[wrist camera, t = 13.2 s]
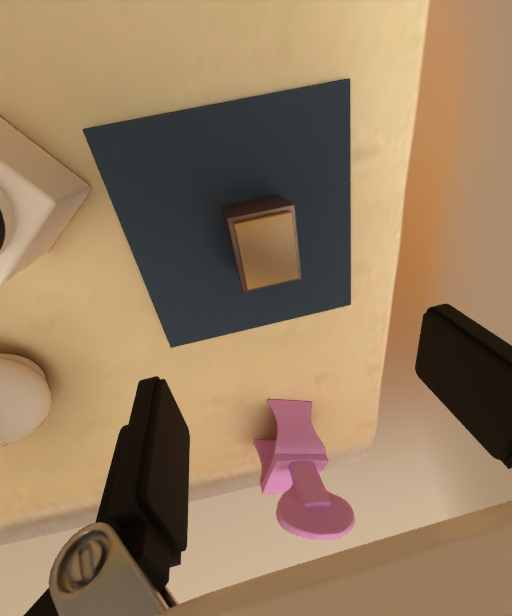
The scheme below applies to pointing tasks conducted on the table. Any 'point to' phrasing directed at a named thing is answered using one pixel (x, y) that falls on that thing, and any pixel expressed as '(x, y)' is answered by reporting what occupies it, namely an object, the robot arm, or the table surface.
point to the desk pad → (227, 190)
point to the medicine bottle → (32, 200)
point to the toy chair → (301, 476)
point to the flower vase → (21, 398)
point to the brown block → (264, 241)
